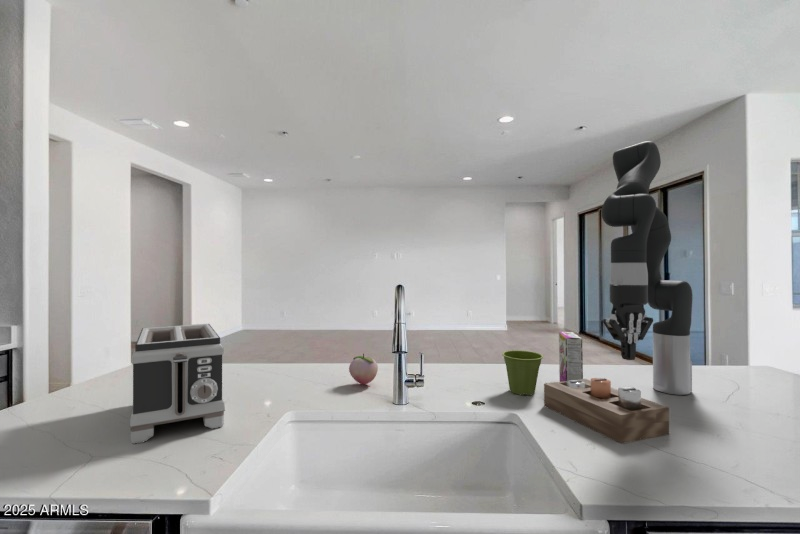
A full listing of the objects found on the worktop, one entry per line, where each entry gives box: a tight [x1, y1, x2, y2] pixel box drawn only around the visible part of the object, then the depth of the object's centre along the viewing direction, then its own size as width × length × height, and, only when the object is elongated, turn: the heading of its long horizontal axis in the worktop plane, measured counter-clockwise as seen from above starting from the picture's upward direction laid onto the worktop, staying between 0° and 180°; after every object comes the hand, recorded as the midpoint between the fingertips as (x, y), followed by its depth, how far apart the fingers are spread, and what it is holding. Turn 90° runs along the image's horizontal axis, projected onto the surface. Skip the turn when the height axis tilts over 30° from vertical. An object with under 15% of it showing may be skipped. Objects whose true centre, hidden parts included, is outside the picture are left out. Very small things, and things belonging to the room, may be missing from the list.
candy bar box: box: [558, 331, 584, 382], centre depth 121 cm, size 11×5×16 cm, turn 168°
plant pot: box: [501, 349, 544, 396], centre depth 117 cm, size 12×12×11 cm
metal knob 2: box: [617, 386, 642, 409], centre depth 88 cm, size 4×4×4 cm
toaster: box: [129, 323, 226, 444], centre depth 97 cm, size 18×34×21 cm, turn 31°
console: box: [543, 378, 670, 444], centre depth 96 cm, size 14×24×6 cm, turn 19°
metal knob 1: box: [567, 380, 585, 390], centre depth 103 cm, size 4×4×4 cm
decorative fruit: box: [348, 353, 379, 386], centre depth 124 cm, size 9×8×10 cm
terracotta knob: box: [590, 377, 612, 398], centre depth 96 cm, size 4×4×4 cm
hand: (628, 359), depth 88 cm, fingers closed
